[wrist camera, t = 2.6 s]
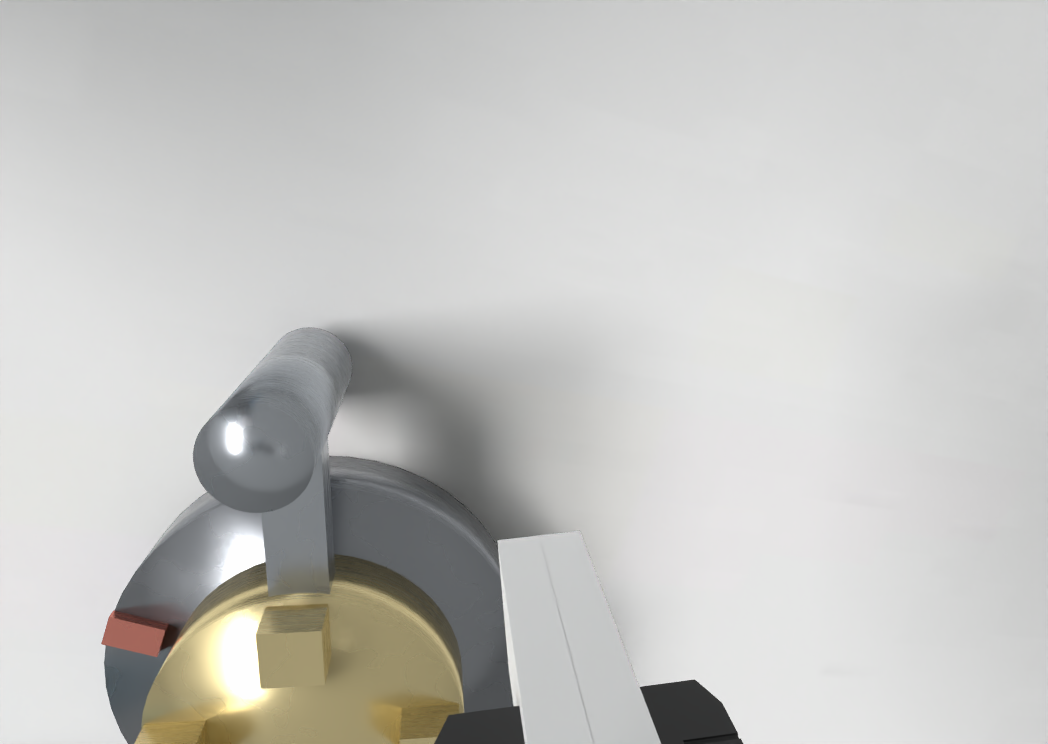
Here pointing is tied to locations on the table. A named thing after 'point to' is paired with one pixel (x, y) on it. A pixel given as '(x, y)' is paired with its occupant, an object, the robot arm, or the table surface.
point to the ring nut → (299, 590)
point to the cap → (358, 530)
